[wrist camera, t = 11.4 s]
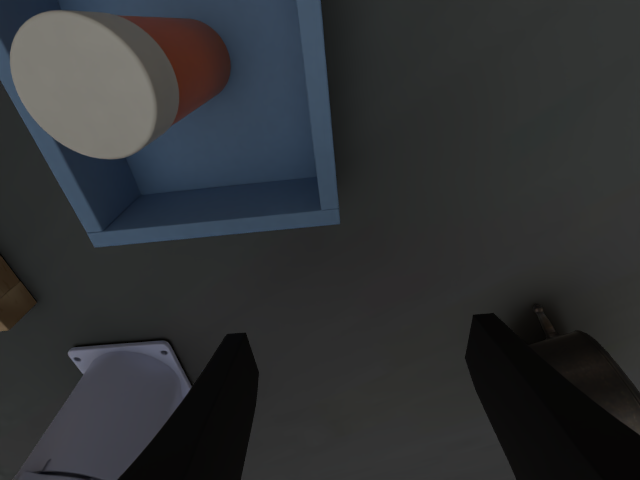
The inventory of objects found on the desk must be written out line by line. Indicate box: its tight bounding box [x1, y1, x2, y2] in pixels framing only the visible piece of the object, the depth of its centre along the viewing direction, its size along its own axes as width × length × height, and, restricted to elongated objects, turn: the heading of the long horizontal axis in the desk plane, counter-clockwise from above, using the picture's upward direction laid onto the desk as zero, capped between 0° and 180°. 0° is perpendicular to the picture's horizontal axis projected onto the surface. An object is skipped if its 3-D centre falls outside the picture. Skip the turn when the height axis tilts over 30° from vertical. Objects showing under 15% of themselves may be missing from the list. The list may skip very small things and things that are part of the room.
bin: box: [0, 0, 340, 247], centre depth 14 cm, size 14×12×5 cm
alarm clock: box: [529, 304, 640, 435], centre depth 20 cm, size 11×5×16 cm, turn 31°
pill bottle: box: [10, 10, 231, 159], centre depth 12 cm, size 3×3×8 cm
